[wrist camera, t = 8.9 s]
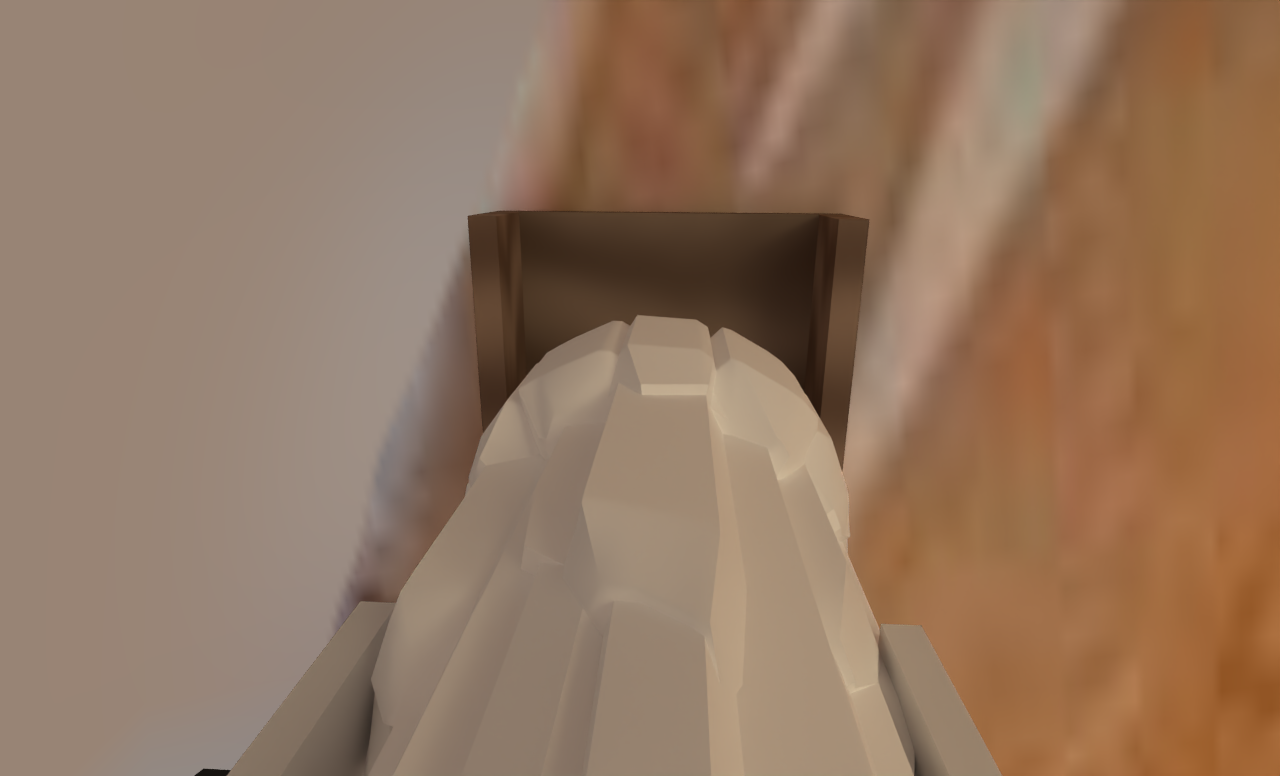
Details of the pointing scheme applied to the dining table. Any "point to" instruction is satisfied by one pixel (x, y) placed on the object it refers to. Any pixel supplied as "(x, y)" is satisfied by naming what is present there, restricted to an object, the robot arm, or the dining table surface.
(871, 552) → the dining table surface
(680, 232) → the brown wooden tray
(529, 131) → the dining table surface
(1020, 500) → the dining table surface
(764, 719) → the decorative vase
